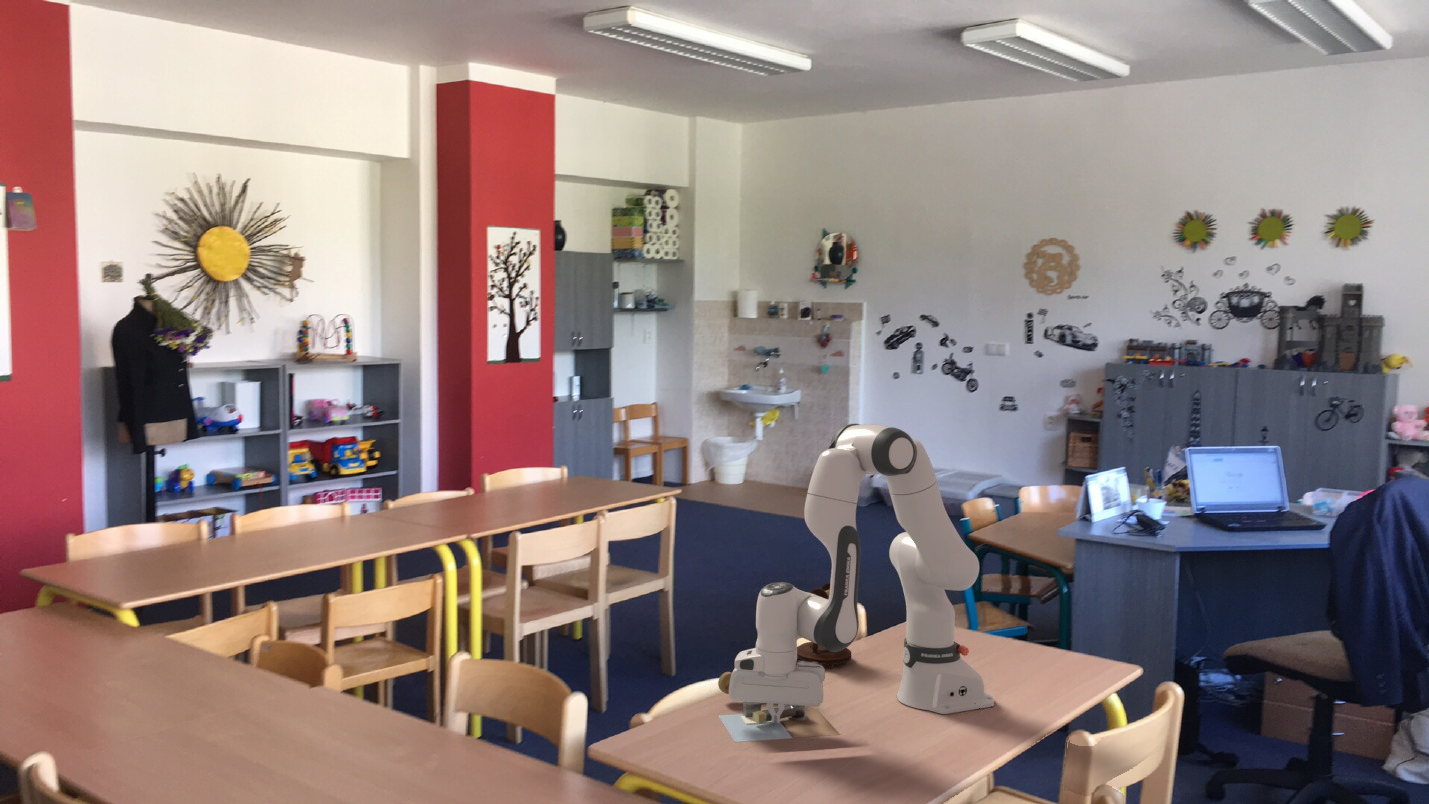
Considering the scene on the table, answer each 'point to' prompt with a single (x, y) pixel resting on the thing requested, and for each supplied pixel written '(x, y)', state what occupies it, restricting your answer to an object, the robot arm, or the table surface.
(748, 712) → the keeper block
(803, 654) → the brown tall piece
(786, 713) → the latch bar
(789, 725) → the board
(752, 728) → the door board
